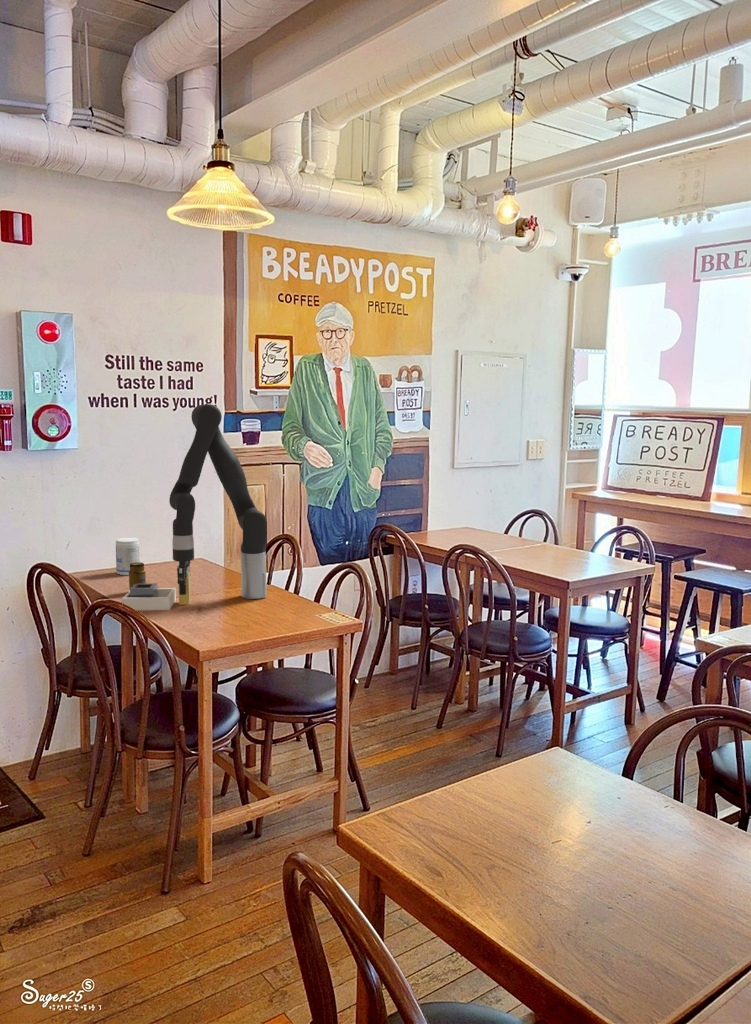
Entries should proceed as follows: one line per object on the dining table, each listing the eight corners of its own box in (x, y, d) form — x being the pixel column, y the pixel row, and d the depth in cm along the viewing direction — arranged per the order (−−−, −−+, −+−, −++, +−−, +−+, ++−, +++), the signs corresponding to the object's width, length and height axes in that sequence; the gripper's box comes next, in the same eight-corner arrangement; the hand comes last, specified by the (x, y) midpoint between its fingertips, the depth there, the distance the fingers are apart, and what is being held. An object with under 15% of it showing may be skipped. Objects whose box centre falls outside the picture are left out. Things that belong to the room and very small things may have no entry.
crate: (176, 601, 299) (175, 588, 298) (169, 611, 285) (168, 597, 284) (131, 601, 298) (131, 588, 297) (123, 612, 284) (122, 598, 283)
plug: (190, 603, 296) (189, 571, 294) (189, 606, 293) (188, 573, 291) (180, 603, 296) (179, 571, 294) (179, 606, 292) (178, 573, 291)
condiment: (142, 591, 314) (141, 560, 312) (152, 595, 308) (151, 564, 306) (124, 594, 310) (123, 563, 308) (133, 598, 303) (132, 567, 301)
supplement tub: (112, 573, 344) (110, 539, 341) (131, 569, 351) (130, 536, 349) (125, 576, 338) (124, 542, 336) (144, 573, 345) (143, 539, 343)
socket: (158, 602, 296) (157, 583, 294) (153, 607, 288) (152, 588, 287) (135, 602, 295) (134, 583, 294) (130, 608, 287) (129, 588, 286)
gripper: (190, 550, 284) (191, 597, 287) (196, 543, 299) (197, 587, 301) (169, 550, 284) (170, 597, 286) (176, 543, 298) (177, 587, 300)
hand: (184, 592), depth 294 cm, fingers open, 6 cm apart
